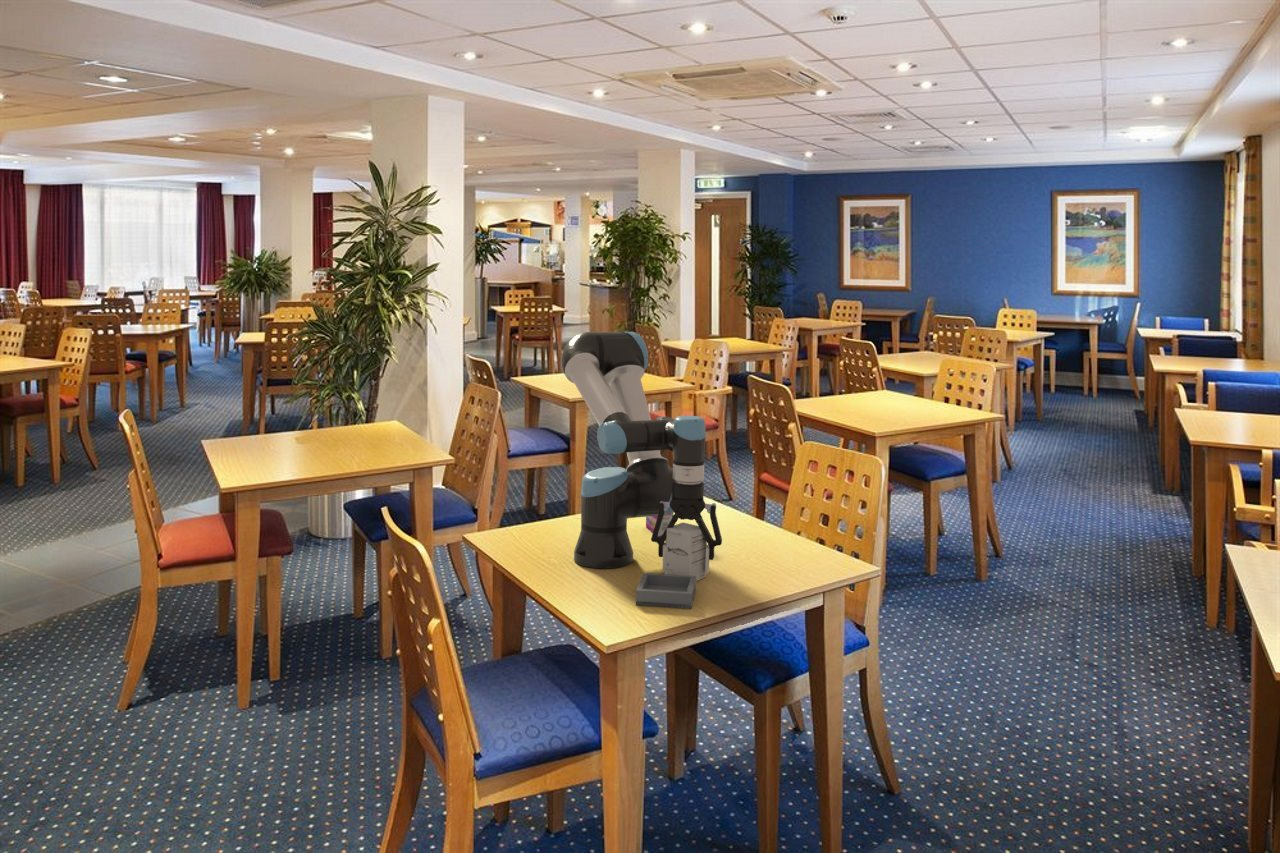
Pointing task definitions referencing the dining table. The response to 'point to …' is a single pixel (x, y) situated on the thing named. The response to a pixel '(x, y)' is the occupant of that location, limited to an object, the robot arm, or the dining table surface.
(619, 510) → the robot arm
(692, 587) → the dock tray
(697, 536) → the supplement box
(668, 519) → the candy bar box
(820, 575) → the dining table surface
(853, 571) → the dining table surface
